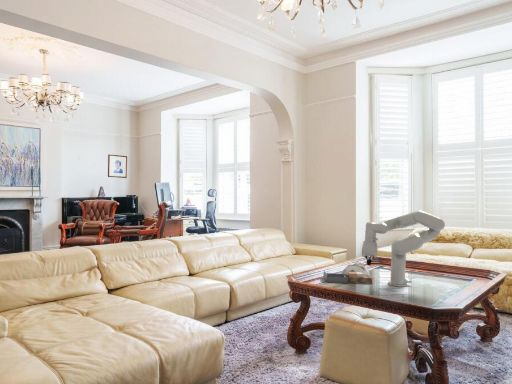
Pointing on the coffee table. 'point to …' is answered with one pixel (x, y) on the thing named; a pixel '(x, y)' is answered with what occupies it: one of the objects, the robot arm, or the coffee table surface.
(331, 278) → the box
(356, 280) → the plate
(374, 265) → the coffee table surface
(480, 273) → the coffee table surface
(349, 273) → the tile
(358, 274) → the tile
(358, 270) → the mask
